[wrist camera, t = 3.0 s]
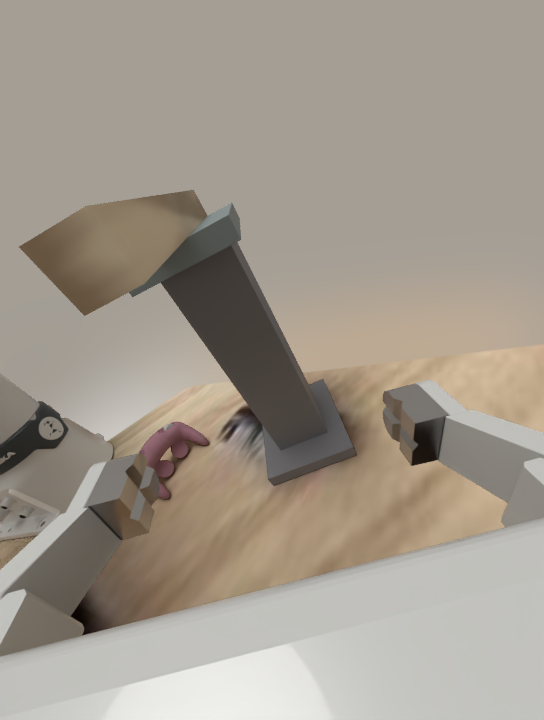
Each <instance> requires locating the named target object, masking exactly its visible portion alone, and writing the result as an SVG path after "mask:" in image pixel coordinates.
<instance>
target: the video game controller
mask: <svg viewBox="0 0 544 720" xmlns="http://www.w3.org/2000/svg"><path fill="white" fill-rule="evenodd" d="M186 440H190V441H193V442H195V443H198V444H201V445H207V444H208V441H207V439H206V438H205V437H204V436H203V435H202V434H201V433H199V432H198V431H196V430H195V429H193V428H192V427H190V426H188V425H186V424H184V423H181V422H172V423H170V424H167V425H165V426H164V427H163V428H161V429H160V430H158V431H157V432H156V433H155V434H153V435H152V436H151V437H150V438H149V439H148V441H147V442H146V443H145V444H144V446H143V447H142V449H141V450H140V452H139V454H144V455H145V457H146V458H147V459H148V463H147V466H148V467H151V468H153V469H154V470H155V471H156V473H157V475H158V477H169V476H170V475H171V474H172V473H173V471H174V465H173V463H172V462H171V461H168V460H162V461H160V458H161V457H162V456H163V454H164V453H165V452H166V451H167V449H168V448H169V447H171V452H172V454H173V455H174V456H175V457H177V458H182V457H184V456H186V454H187V453H188V446H187V444H186ZM159 486H160V490H159V494H158V497H160V498H163V499H168V498H169V497H170V494H169V492H168V490H167V489H166V488H165V487H164V486H163V484H162V483H161V482H159Z"/></svg>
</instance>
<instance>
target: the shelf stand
mask: <svg viewBox="0 0 544 720" xmlns="http://www.w3.org/2000/svg"><path fill="white" fill-rule="evenodd" d="M240 240H241V233H240V219H239V217H238V214H237V212H236V210H235V208H234V206H233V204H232V203H230V204H228V205H227V206H225V207H223V208H221V209H220V210H218V211H216V212H214V213H212V214H210V215H209V216H207V217H206V218H205V219H204V220H203V221H202V222H201V223H200V224H199V225H198V226H197V227H196V229H195V230H194V231H193V232H192V233H191V234H190V235H189V236H188V237H187V238H186V239H185V240H184V242H183V243H182V244H181V245H180V246H179V247H178V248H177V249H176V250H175V251H174V252H173V253H172V255H171V256H170V257H169V258H168V259H167V260H166V261H165V262H164V263H163V264H162V265H161V266H160V268H159V269H158V270H157V271H156V272H155V273H154V274H153V275H152V276H151V277H150V278H149V279H148V281H147V282H146V283H145V284H143V285H141V286H139V287H138V288H136V289H134V290H132V291H130V292H129V293H130V294H131V296H132V297H134V296H136V295H138V294H140V293H141V292H143V291H145V290H147V289H149V288H151V287H153V286H155V285H157V284H158V283H160V282H161V284H162V285H163V286H164V288H165V289H166V291H167V292H168V293H169V295H170V296H171V298H172V299H173V300H174V302H175V303H176V305H177V306H178V307H179V309H180V310H181V312H182V313H183V314H184V316H185V317H186V319H187V320H188V321H189V323H190V324H191V326H192V327H193V328H194V330H195V331H196V333H197V334H198V335H199V337H200V338H201V340H202V341H203V342H204V344H205V345H206V347H207V348H208V349H209V351H210V352H211V353H212V355H213V356H214V358H215V359H216V361H217V362H218V363H219V365H220V366H221V368H222V369H223V370H224V372H225V373H226V375H227V376H228V377H229V379H230V380H231V382H232V383H233V384H234V386H235V387H236V389H237V390H238V391H239V393H240V394H241V396H242V397H243V398H244V400H245V401H246V403H247V404H248V405H249V407H250V408H251V410H252V411H253V412H254V414H255V415H256V417H257V418H258V419H259V421H260V422H261V424H262V426H263V435H264V445H265V455H266V464H267V474H268V480H269V481H270V482H271V483H272V484H273V486H274V485H277V484H280V483H282V482H285V481H288V480H291V479H293V478H296V477H299V476H301V475H304V474H307V473H309V472H312V471H315V470H317V469H320V468H323V467H326V466H328V465H331V464H334V463H336V462H339V461H342V460H344V459H347V458H350V457H352V456H355V455H357V454H356V452H355V449H354V447H353V445H352V443H351V440H350V438H349V436H348V434H347V431H346V429H345V427H344V425H343V422H342V420H341V418H340V415H339V413H338V411H337V409H336V406H335V404H334V402H333V400H332V397H331V395H330V393H329V391H328V388H327V386H326V384H325V382H324V379H322V380H319V381H317V382H315V383H312V384H310V385H308V383H307V381H306V379H305V377H304V375H303V373H302V371H301V369H300V367H299V365H298V363H297V361H296V359H295V357H294V355H293V353H292V351H291V349H290V347H289V345H288V343H287V341H286V339H285V337H284V335H283V333H282V331H281V329H280V327H279V325H278V323H277V321H276V319H275V317H274V315H273V313H272V311H271V309H270V307H269V305H268V303H267V301H266V299H265V297H264V295H263V293H262V291H261V289H260V287H259V285H258V283H257V281H256V279H255V277H254V275H253V273H252V271H251V269H250V267H249V265H248V263H247V261H246V259H245V257H244V255H243V253H242V251H241V249H240V247H239V245H238V243H237V242H238V241H240Z"/></svg>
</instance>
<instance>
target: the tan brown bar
mask: <svg viewBox="0 0 544 720" xmlns="http://www.w3.org/2000/svg"><path fill="white" fill-rule="evenodd" d="M206 217H207V214H206V212H205V210H204V209H203V207H202V205H201V203H200V201H199V199H198V197H197V196H196V194H195V192H194V190H190V191H183V192H177V193H170V194H163V195H157V196H150V197H143V198H137V199H130V200H123V201H117V202H110V203H104V204H97V205H90V206H85V207H84V208H82V209H81V210H79V211H77V212H76V213H74V214H72V215H71V216H69V217H67V218H66V219H64V220H62V221H61V222H59V223H57V224H56V225H54V226H52V227H51V228H49V229H48V230H46V231H44V232H43V233H41V234H39V235H38V236H36V237H35V238H33V239H31V240H30V241H28V242H26V243H24V244H23V245H21V246H20V248H21V250H22V251H23V252H24V253H25V254H26V255H27V256H28V257H29V258H30V259H31V260H32V261H33V262H34V263H35V264H36V265H37V266H38V268H40V269H41V271H42V272H43V273H44V274H45V275H46V276H47V277H48V278H49V279H50V280H51V281H52V282H53V283H54V284H55V285H56V286H57V287H58V289H59V290H60V291H61V292H62V293H63V294H64V295H65V296H66V297H67V298H68V299H69V300H70V301H71V302H72V303H73V304H74V305H75V306H76V307H77V308H78V309H79V311H80V312H81V313H82V314H83V315H87V314H89V313H91V312H93V311H95V310H96V309H98V308H100V307H102V306H104V305H106V304H108V303H110V302H111V301H113V300H115V299H117V298H119V297H121V296H122V295H124V294H126V293H128V292H130V291H132V290H134V289H136V288H138V287H139V286H141V285H143V284H145V283H146V282H147V281H148V279H149V278H150V277H151V276H152V275H153V274H154V273H155V272H156V271H157V270H158V269H159V268H160V266H161V265H162V264H163V263H164V262H165V261H166V260H167V259H168V258H169V257H170V256H171V255H172V253H173V252H174V251H175V250H176V249H177V248H178V247H179V246H180V245H181V244H182V243H183V242H184V240H185V239H186V238H187V237H188V236H189V235H190V234H191V233H192V232H193V231H194V230H195V229H196V227H197V226H198V225H199V224H200V223H201V222H202V221H203V220H204V219H205V218H206Z"/></svg>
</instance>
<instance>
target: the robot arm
mask: <svg viewBox="0 0 544 720" xmlns="http://www.w3.org/2000/svg"><path fill="white" fill-rule="evenodd" d="M383 402H384V403H385V405H386V408H385V409H384V410H383V420H384V423H385V427H386V429H387V431H388V433H389V434H390V436H391V437H392V439H394V440H396V441H398V442H400V450H401V452H402V453H403V455H404V456H405V458H406V459H407V460H408V462H409V463H410V465H411V466H413V465H418V464H422V463H427V462H431V461H436V460H439V462H441V463H442V464H444V465H446V466H447V467H449V468H451V469H452V470H454V471H456V472H457V473H459V474H461V475H462V476H464V477H466V478H467V479H469V480H471V481H472V482H474V483H476V484H477V485H479V486H481V487H482V488H484V489H486V490H487V491H489V492H490V493H492V494H494V495H495V496H497V497H499V498H500V499H502V500H504V501H505V502H507V505H506V508H505V510H504V513H503V515H502V519H501V522H502V524H503V525H504V526H505V528H501V529H497V530H493V531H489V532H485V533H481V534H477V535H473V536H469V537H466V538H462V539H458V540H454V541H450V542H446V543H442V544H438V545H434V546H430V547H426V548H423V549H419V550H415V551H411V552H407V553H403V554H399V555H395V556H391V557H387V558H383V559H379V560H376V561H372V562H368V563H364V564H360V565H356V566H352V567H348V568H344V569H340V570H336V571H333V572H329V573H325V574H321V575H317V576H313V577H309V578H305V579H301V580H297V581H293V582H290V583H286V584H282V585H278V586H274V587H270V588H266V589H262V590H258V591H254V592H250V593H246V594H243V595H239V596H235V597H231V598H227V599H223V600H219V601H215V602H211V603H207V604H203V605H200V606H196V607H192V608H188V609H184V610H180V611H176V612H172V613H168V614H164V615H161V616H157V617H153V618H149V619H145V620H141V621H137V622H133V623H129V624H125V625H122V626H118V627H114V628H110V629H106V630H102V631H98V632H94V633H90V634H86V635H83V636H82V634H83V631H84V627H83V624H82V623H80V622H78V621H77V620H75V619H73V618H72V617H70V616H71V615H72V613H73V612H74V610H75V609H76V607H77V606H78V605H79V603H80V602H81V600H82V599H83V597H84V596H85V595H86V593H87V592H88V590H89V589H90V587H91V586H92V584H93V583H94V582H95V580H96V579H97V577H98V576H99V574H100V573H101V572H102V570H103V569H104V567H105V566H106V564H107V563H108V561H109V560H110V559H111V557H112V556H113V554H114V553H115V551H116V550H117V549H118V547H119V546H120V544H121V543H122V541H121V540H125V539H128V538H132V537H135V536H139V535H142V534H146V533H149V530H150V526H151V522H152V518H153V514H154V510H153V508H152V504H153V503H154V502H155V501H156V499H157V498H158V494H159V490H160V486H159V478H158V475H157V473H156V471H155V470H154V469H153V468H151V467H148V466H147V463H148V459H147V458H146V457H145V455H144V454H135V455H130V456H126V457H122V458H117V459H113V460H111V458H112V455H113V446H112V444H111V443H109V442H107V441H104V437H103V436H102V435H100V434H93V433H91V432H90V431H88V430H87V429H85V428H83V427H82V426H80V425H78V424H76V423H75V422H73V421H71V420H70V419H68V418H61V417H60V414H59V413H58V412H56V411H55V410H54V409H53V408H52V407H51V406H49V405H47V404H45V403H44V402H42V401H39V402H37V401H36V400H35V399H33V398H32V397H31V396H29V395H28V394H27V393H25V392H24V391H23V390H21V389H20V388H19V387H17V386H16V385H15V384H13V383H12V382H11V381H9V380H8V379H7V378H5V377H4V376H3V375H1V374H0V541H2V540H9V539H16V538H22V537H29V536H36V535H38V536H36V537H35V538H34V539H33V540H32V541H31V542H30V543H29V544H28V545H27V546H26V547H25V548H24V549H22V550H21V551H20V552H19V553H18V554H17V555H16V556H15V557H14V558H13V559H12V560H11V561H10V562H8V563H7V564H6V565H5V566H4V567H3V568H2V569H1V570H0V720H544V433H542V432H539V431H536V430H533V429H530V428H527V427H524V426H521V425H518V424H515V423H512V422H509V421H506V420H503V419H500V418H497V417H494V416H491V415H488V414H484V413H481V412H478V411H475V410H470V411H468V410H467V409H466V408H464V407H463V406H462V405H461V404H460V403H459V402H457V401H456V400H455V399H454V398H453V397H452V396H450V395H449V394H448V393H447V392H446V391H445V390H443V389H442V388H441V387H440V386H439V385H438V384H436V383H435V382H434V381H432V380H426V381H422V382H418V383H414V384H411V385H407V386H404V387H400V388H396V389H392V390H388V391H385V392H384V394H383Z"/></svg>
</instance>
